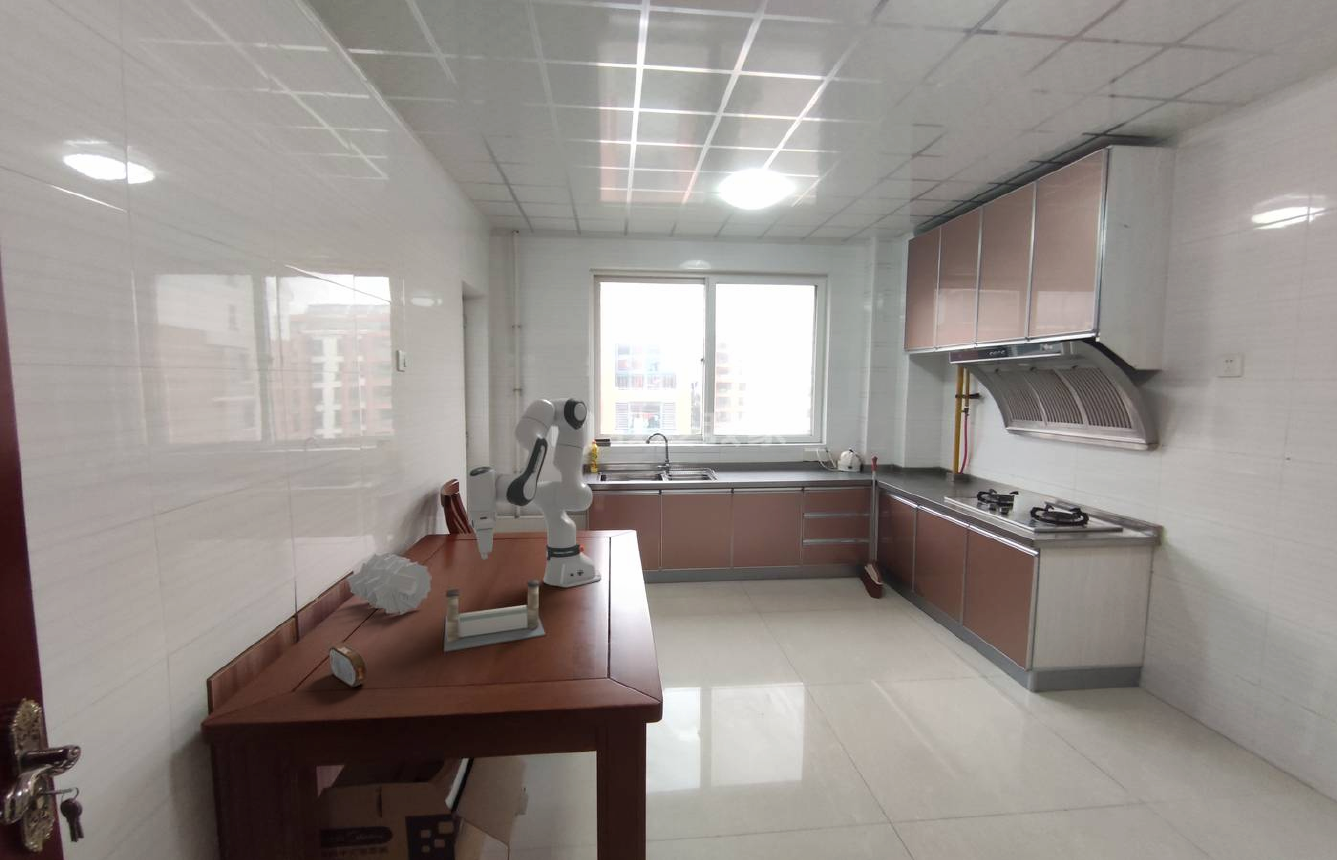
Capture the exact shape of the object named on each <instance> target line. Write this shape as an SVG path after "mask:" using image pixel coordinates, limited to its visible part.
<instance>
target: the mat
mask: <svg viewBox="0 0 1337 860" xmlns="http://www.w3.org/2000/svg"><path fill="white" fill-rule="evenodd" d="M525 605H526V606H527V628H520V629H513V630H506V631H500V632H493V633H486V634H479V635H472V636H465V637H460V614H461V613H458V634H459V641H454V642H448V643H447V615H446V616H445V624H444V625H445V626H444V628H445V629H444V645H443V646H444V648H443V651H444V653H446V652H447V653H448V652H451V651H452V652H453V651H459V650H464V649H471V648H476V647H482V646H489V645H493V644H494V645H495V644H501V643H502V644H503V643H506V642H514V641H519V640H526V639H532V638H537V637H544V636H545V637H546V632H545V629H544V627H543V624H542V621H541V619H540V616H539V615H538V628H536V629H528V604H525Z"/></svg>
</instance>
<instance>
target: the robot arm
mask: <svg viewBox="0 0 1337 860" xmlns="http://www.w3.org/2000/svg"><path fill="white" fill-rule="evenodd" d="M587 412H588V411H587V406H586V404H585V403H584V401H583V400H581V399H579V398H574V397H571V398H570V397H569V398H567V397H561V398H560V397H558V398H553V399H544V398H537V399H535V400H533V401H532V402H531V403H530V405H529V406H528V407H526V409H525V411H524V412H523V414H522V416H521V417H520V419H519V420H518V423H517V424H516V427H515V431H514V437H515V439H516V441H517V442H518V444H519V445H520V446H521V447H523V448H524V449H525V450H526V451H528V456H527V458H526V461H525V464H524V468H523V469H522V472H521V473H519V474H516V475H515V474H510V473H509V474H508V473H502V472H499V471H497V470H494V469H493V467H490V466H482V467H481V466H479V467H476V468H473V469H472V470H470V471H469V473H468V476H467V480H466V481H467V482H466V494H467V499H468V507H467V514H468V515H467V517H468V524H469V525H470V526H471V527H472V528H473V530H474V531H475V535H476V540H477V546H478V551H479V553H480V554H481V555H480V556H481V559H482V560H488V559H489V557H488V556H489V555H488V553H492V550H493V544H494V542H493V539H494V529H495V528H496V522H497V521H498V514H497V510H498V509H497V503H499V502H501V503H504V504H511V505H514V506H518V507H525V506H527V505H529V504H530V502H533V504H534V505H535V506H536V507H537V508H538V509H539V510H540V512H541V513H542V516H543V518H544V521H545V524H546V533H547V535H546V536H547V544H546V548H545V558H546V567H545V573H544V576H543V579H542V580H543V581H542V582H543V583H545V584H547V585H549V586H554V587H555V586H558V587H560V588H570V587H576V586H580V585H585V584H589V583H595V582H599V581H601V580H602V574H601V572H600V571H599V570H597V569H596V566H595V562H594V561H593V560H592V559H591V558H590V557H589V556H587V555H586V554H584V553H583V552H584V551H585V547H584V546H583V545H581V543H578V542H577V525H576V523H575V521H573V520H572V518H570V516H568V514H567V512H566V511H568V512H581V511H587V510H588V509H589V508H590V506H591V505H592V503H593V498H594V495H593V491H592V489H591V487H590V486H589V485H588V484H587V482H586V480H585V479H584V477H583V472H582V471H583V470H582V462H583V454H584V453H583V452H584V446H585V428H584V424H585V421H586V418H587V414H588V413H587ZM552 427H555V428H556V427H557V431H558V434H557V438H556V442H555V447H554V453H553V461H552V464H553V467H554V469H556V471H558V472H559V473H560V476H561V481H555V480H545V481H539V478H540V474H541V471H542V469H543V466H544V463H545V460H546V456H547V453H548V447H549V446H548V445H549V444H548V441H547V435H548V433H549V432H550V429H551V428H552ZM538 481H539V482H538Z"/></svg>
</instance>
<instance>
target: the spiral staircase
mask: <svg viewBox="0 0 1337 860" xmlns="http://www.w3.org/2000/svg"><path fill="white" fill-rule="evenodd" d="M432 579H433V576H432V575H431V574H430V573H429V571H428V566H426V565H421V564H419V562H418V561H416V562H411V559H410V558H409V559H407V557H401V556H400V555H396V554H390V552H389V551H387V552H384V553H381V554H378V555H377V553H374V554H373V555H372V556H371V558H369V559H368V560H367V561H366V562H363V563H362V565H361V569H360V570H359V571H358V572H356V573H354V574H352V575H351V576H349V577H346V580H347V582H348V584H349V587H350V591H349V592H350V593H352V594H354V595H355V596H358V597H359V601H368V602H369V605H370V606H371V605H375V607H374V608H375V609H385V610H386V611H385V614H395V613H399V615H400V616H402V615H404V614H405V613H407V612H408V611H410V610H412V609H414V610H416V609H417V607H418V606H419V605H420V603H421V602H422V600H423V599H427V597H428V594H429V593H428V592H432V590H431V580H432Z"/></svg>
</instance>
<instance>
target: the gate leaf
mask: <svg viewBox="0 0 1337 860" xmlns="http://www.w3.org/2000/svg"><path fill="white" fill-rule="evenodd" d="M526 605H527V604H524V605H516V606H508V607H501V608H493V609H485V610H476V611H469V612H463V613H461V612H460V613H459V614H460V637H465V636H472V635H479V634H486V633H493V632H500V631H506V630H513V629H520V628H527V606H526Z"/></svg>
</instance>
